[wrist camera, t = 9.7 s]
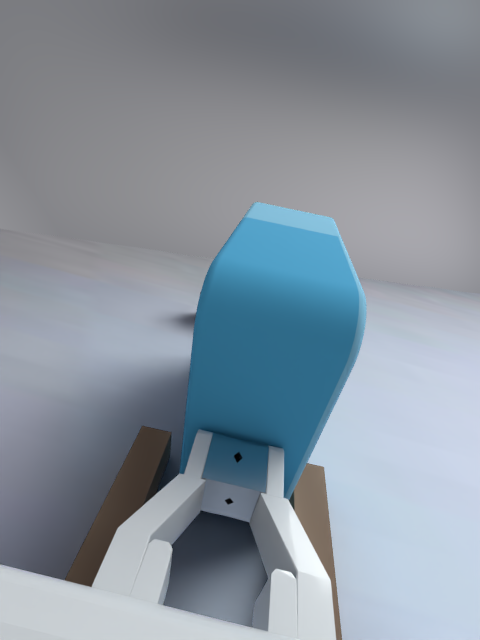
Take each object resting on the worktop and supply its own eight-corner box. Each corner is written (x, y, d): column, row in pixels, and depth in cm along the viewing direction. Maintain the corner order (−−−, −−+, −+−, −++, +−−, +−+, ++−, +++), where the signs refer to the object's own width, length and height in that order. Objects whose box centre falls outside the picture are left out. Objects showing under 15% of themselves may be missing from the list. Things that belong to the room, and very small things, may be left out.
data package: (226, 355, 24) (255, 196, 18) (283, 369, 24) (333, 212, 17) (173, 516, 14) (196, 277, 7) (271, 542, 14) (380, 318, 7)
